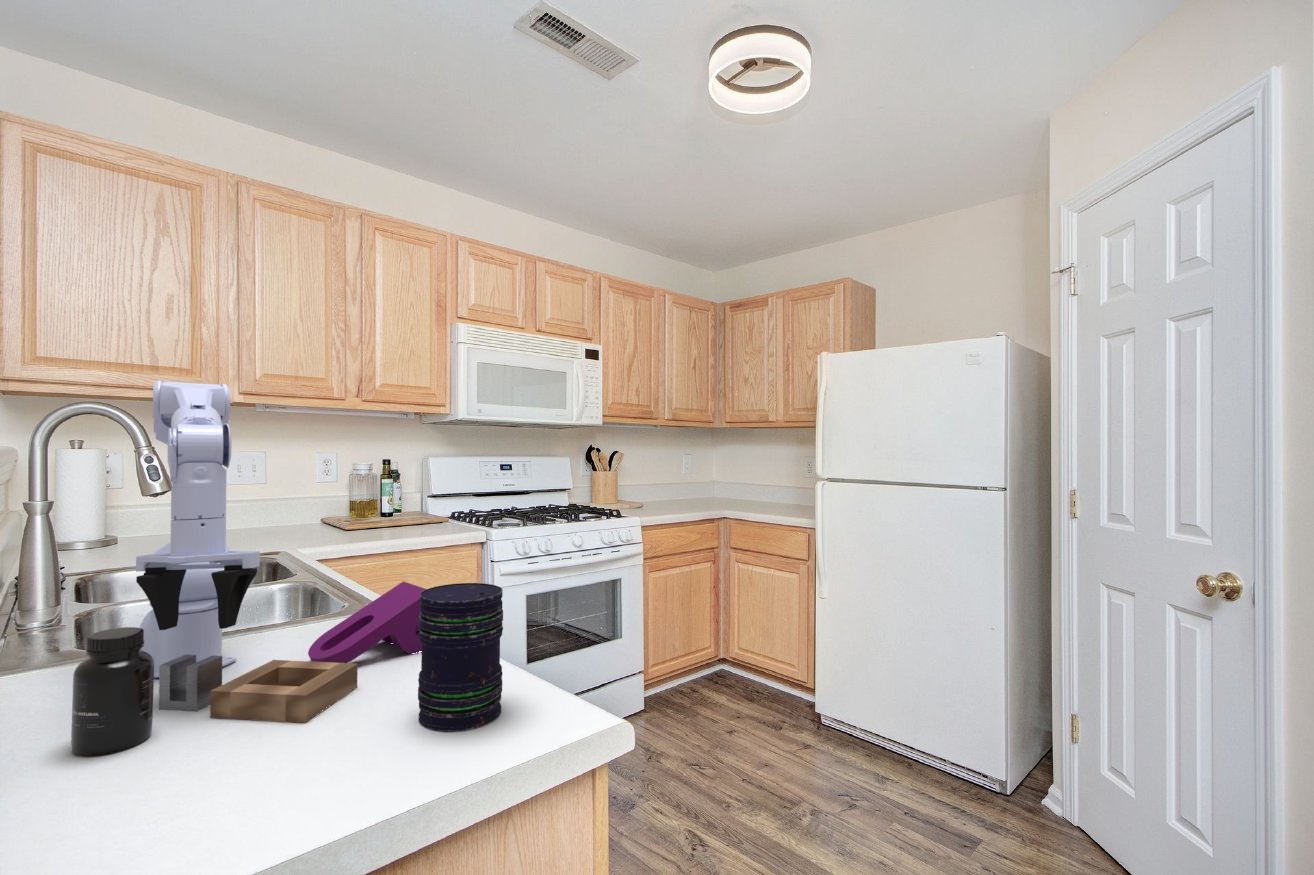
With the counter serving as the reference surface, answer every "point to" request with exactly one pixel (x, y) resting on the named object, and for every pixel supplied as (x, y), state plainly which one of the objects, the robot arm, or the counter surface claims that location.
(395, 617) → the mounting bracket
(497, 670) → the dark blue ribbed cylinder
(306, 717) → the well block
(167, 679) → the bracket
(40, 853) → the counter surface
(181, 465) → the robot arm
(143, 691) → the supplement bottle
